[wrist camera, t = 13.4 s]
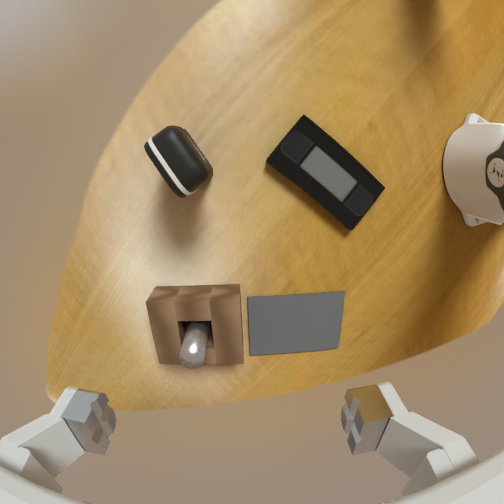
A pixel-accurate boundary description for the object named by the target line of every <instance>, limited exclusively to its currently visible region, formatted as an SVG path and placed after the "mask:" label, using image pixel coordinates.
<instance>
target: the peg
mask: <svg viewBox="0 0 504 504" xmlns="http://www.w3.org/2000/svg"><path fill="white" fill-rule="evenodd" d="M210 322H211V321H189V323H188V326H187V329H186V333H185V336H184V340H183V343H182V347H181V350H180V353H179V360H180V362H181V363H182V364H183V365H184V366H186V367H188V368H198V367H200V366H201V365H202V364H203V363H204V357H205V351H206V345H207V339H208V334H209V328H210Z"/></svg>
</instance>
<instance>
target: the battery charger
mask: <svg viewBox="0 0 504 504" xmlns="http://www.w3.org/2000/svg"><path fill="white" fill-rule="evenodd" d="M144 148H145V151H146V153H147V154H148V156H149V158H150V159H151V161H152V162H153V163H154V165H155V166H156V168H157V169H158V171H159V172H160V174H161V175H162V177H163V178H164V179H165V181H166V182H167V184H168V185H169V187H170V188H171V189H172V190H173V192H174V193H175V194H176V195H177V196H179V197H186V196H188V195H191V194H193V193H194V192H195V191H197V190H198V189H199V188H200V187H201V186H203V185H204V184H205V183H207V182H208V181H209V180H210V179H211V178H212V176H213V168H212V167H211V165H210V163H209V162H208V160H207V159H206V158H205V156H204V155H203V153H202V152H201V151H200V149H199V148H198V146H197V145H196V143H195V142H194V140H193V139H192V137H191V136H190V134H189V133H188V132H187V131H186V130H185V129H183V128H181V127H178V126H173V125H172V126H168V127H166V128H164V129H163V130H161V131H160V132H159V133H157V134H156V135H155V136H154V137H151V138H150V139H148V141H147V142H146V143H145V145H144Z"/></svg>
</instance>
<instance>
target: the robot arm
mask: <svg viewBox="0 0 504 504" xmlns="http://www.w3.org/2000/svg"><path fill="white" fill-rule="evenodd" d="M443 173H444V180H445V184H446V188H447V191H448V193H449V195H450V197H451V199H452V201H453V202H454V203H455V205H456V206H457V207H458V208H459V209H460V210H461V212H462V215H463V218H464V221H465V223H466V225H468V226H471V227H473V226H477V225H480V224H483V223H487V222H491V223H494V224H498V225H502V223H504V124H502V123H489V122H488V121H486V120H485V119H483V118H481V117H480V116H478V115H477V114H474V113H469V114H468V115H467V117H466V119H465V121H464V124H463V125H462V126H461V127H460V128H458V129H457V130H456V131H455V132H454V133H453V134H452V135H451V137H450V138H449V140H448V143H447V145H446V148H445V153H444V160H443ZM475 218H476V219H475ZM345 400H346V404H345V405H344V406H343V407H342V412H341V421H342V426H343V429H344V431H345V432H346V433H348V434H349V437H348V440H347V441H348V444H349V447H350V450H351V453H352V455H355V454H360V453H365V452H370V451H374V450H376V452H377V453H379V454H380V455H381V456H382V457H384V458H385V459H386V460H387V461H389V462H390V463H391V464H393V465H394V466H395V467H397V468H398V469H399V470H400V471H402V472H403V473H404V474H406V475H407V476H409V477H410V480H409V481H408V482H407V483H406V485H405V486H404V487H403V489H402V490H401V493H402V497H400V498H397V499H394V500H391V501H387V502H384V503H381V504H504V448H502V449H500V450H498V451H497V452H495V453H494V454H492V455H490V456H489V457H487V458H485V459H483V460H482V461H480V462H479V460H478V459H477V457H476V456H475V454H474V452H473V451H472V449H471V448H470V446H469V444H468V443H467V441H466V440H465V438H464V437H463V436H461V435H459V434H457V433H454V432H452V431H450V430H448V429H446V428H444V427H442V426H440V425H438V424H436V423H434V422H432V421H430V420H427V419H426V418H424V417H422V416H420V415H418V414H416V413H414V412H408V411H407V409H406V407H405V406H404V404H403V402H402V401H401V399H400V397H399V396H398V394H397V392H396V391H395V389H394V387H393V386H392V384H391V383H390V382H384V383H380V384H376V385H370V386H364V387H360V388H354V389H348V390H347V392H346V394H345ZM108 401H109V400H108V398H107V396H106V394H105V393H102V392H96V391H91V390H86V389H79V388H74V387H70V386H69V387H67V388H65V390H64V392H63V393H62V395H61V396H60V398H59V399H58V401H57V403H56V404H55V406H54V408H53V409H52V411H51V412H50V414H49V415H48V414H45V415H43V416H41V417H40V418H38V419H36V420H34V421H32V422H30V423H29V424H27V425H25V426H23V427H21V428H19V429H17V430H15V431H14V432H12V433H10V434H8V435H6V436H4V437H2V439H1V441H0V504H90V503H86V502H83V501H80V500H77V499H74V498H71V497H68V496H66V495H63V494H61V492H62V487H61V485H60V484H59V483H58V482H57V481H56V480H55V479H54V477H56V476H57V475H58V474H59V473H61V472H62V471H63V470H64V469H65V468H67V467H68V466H69V465H70V464H71V463H72V462H74V461H75V460H76V459H77V458H79V457H80V456H81V455H82V454H83V453H84V451H87V452H92V453H97V454H102V455H105V453H106V450H107V448H108V445H109V442H110V441H109V439H108V436H109V435H111V434H112V433H113V432H114V429H115V425H116V417H115V413H114V411H113V409H112V408H111V407H110V406H109V405H107V403H108Z"/></svg>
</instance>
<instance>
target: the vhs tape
mask: <svg viewBox="0 0 504 504" xmlns="http://www.w3.org/2000/svg"><path fill="white" fill-rule="evenodd" d="M266 161H267V162H268V163H269V164H271V165H272V166H273V167H275V168H276V169H277V170H278V171H280V172H281V173H282V174H283V175H285V176H286V177H287V178H289V179H290V180H291V181H292V182H294V183H296V184H297V185H298V186H299V187H300V188H302V189H303V190H304V191H305V192H307V193H308V194H309V195H310V196H311V197H313V198H314V199H315V200H316V201H317V202H319V203H320V204H321V205H322V206H323V207H324V208H326V209H327V210H328V211H329V212H330V213H332V214H333V215H334V216H335V217H336V218H337V219H338V220H340V221H341V222H342V223H343V224H344V225H345V226H346V227H347V228H348V229H350V230H353V229H354V227H355V226H356V225H357V224H358V222H359V221H360V220H361V219H362V217H363V216H364V215H365V213H366V212H367V211H368V210H369V208H370V207H371V206H372V205H373V203H374V202H375V201H376V199H377V198H378V197H379V195H380V194H381V193H382V192H383V190H384V189H385V187H384V186H383V185H382V184H381V183H380V182H379V181H378V180H377V179H376V178H375V177H374V176H373V175H372V174H371V173H370V172H369V171H368V170H367V169H366V168H365V167H363V166H362V165H361V164H360V163H359V162H358V161H357V160H356V159H355V158H354V157H353V156H352V155H351V154H350V153H348V152H347V151H346V150H345V149H344V148H343V147H342V146H341V145H340V144H338V143H337V142H336V141H335V140H334V139H333V138H332V137H330V136H329V135H328V134H327V133H326V132H325V131H323V130H322V129H321V128H320V127H319V126H318V125H316V124H315V123H314V122H313V121H311V120H310V119H309V118H308V117H307V116H305V115H303V116H302V117H301V118H300V119H299V120H298V121H297V123H296V124H295V125H294V126H293V127H292V128H291V130H290V131H289V132H288V133H287V135H286V136H285V137H284V138H283V139H282V141H281V142H280V143H279V144H278V146H277V147H276V148H275V149H274V151H273V152H272V153H271V154H270V156H269V157H268V158H267V160H266Z"/></svg>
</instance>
